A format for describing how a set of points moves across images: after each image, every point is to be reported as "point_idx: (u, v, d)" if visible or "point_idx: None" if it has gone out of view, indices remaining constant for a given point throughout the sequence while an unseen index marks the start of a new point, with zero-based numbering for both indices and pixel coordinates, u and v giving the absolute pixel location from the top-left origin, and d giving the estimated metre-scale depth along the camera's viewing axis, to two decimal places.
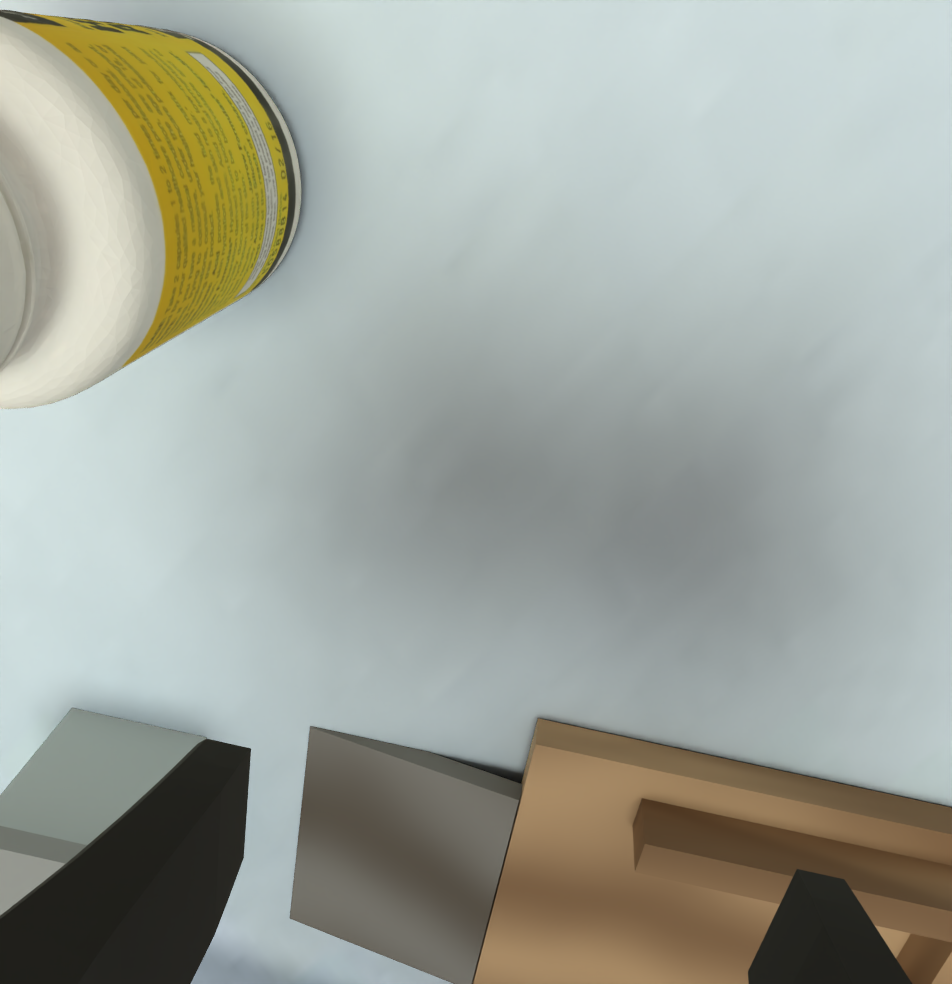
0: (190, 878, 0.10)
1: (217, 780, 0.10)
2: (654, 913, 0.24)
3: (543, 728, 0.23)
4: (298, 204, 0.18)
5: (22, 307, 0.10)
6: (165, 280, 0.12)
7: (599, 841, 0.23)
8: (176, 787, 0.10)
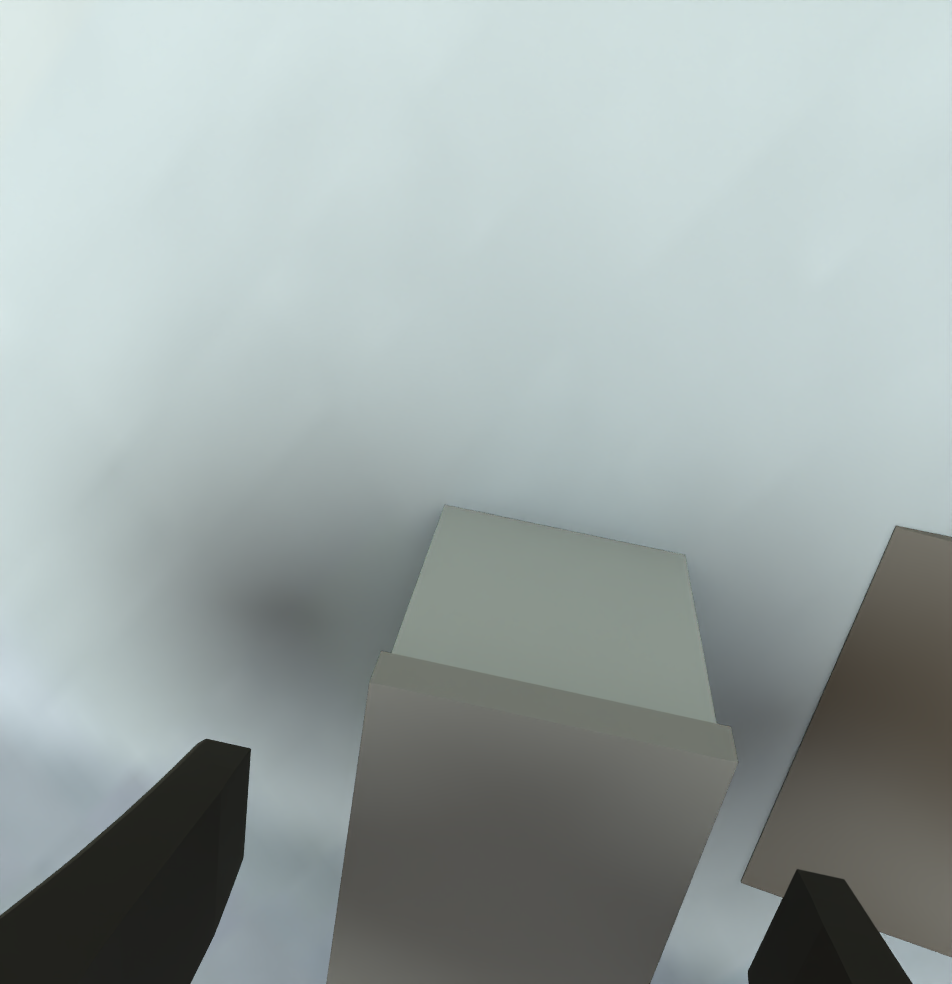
0: (190, 878, 0.10)
1: (217, 780, 0.10)
2: None
3: None
4: None
5: None
6: None
7: None
8: (176, 787, 0.10)
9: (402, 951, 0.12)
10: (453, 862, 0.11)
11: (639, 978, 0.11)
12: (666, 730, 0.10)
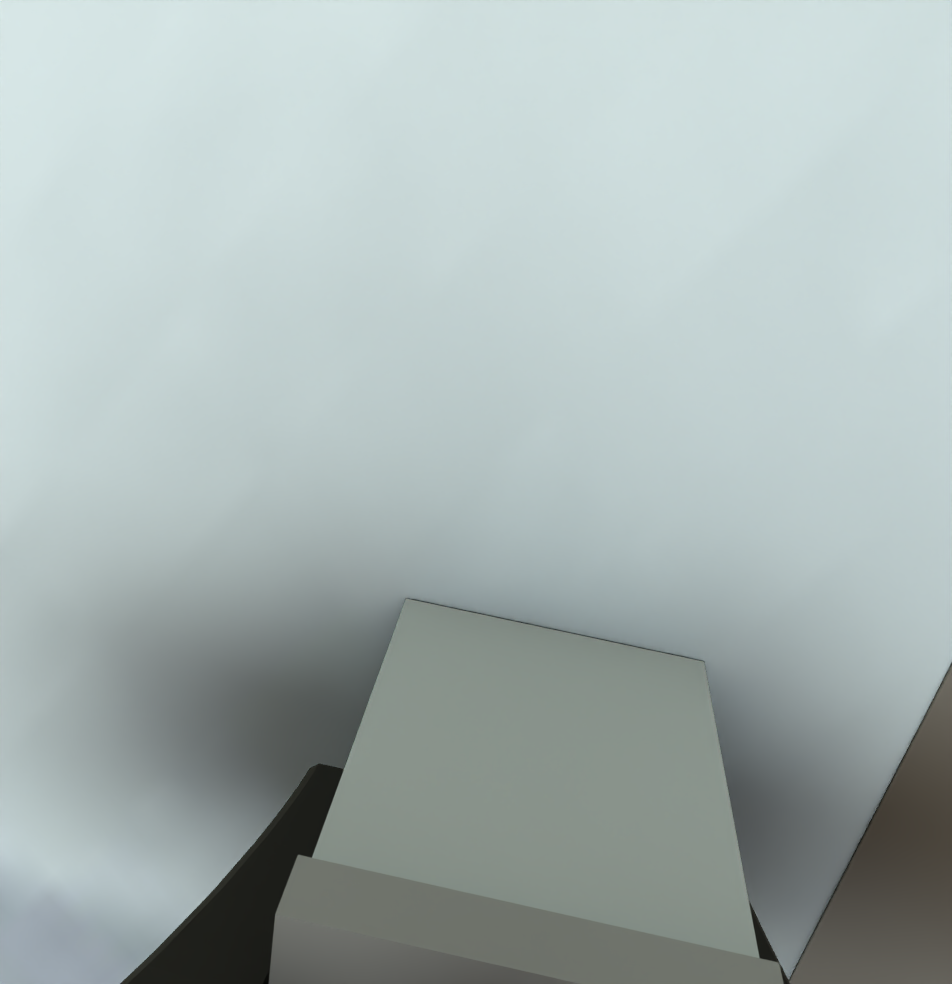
0: None
1: None
2: None
3: None
4: None
5: None
6: None
7: None
8: (302, 815, 0.10)
9: None
10: None
11: None
12: (691, 978, 0.07)
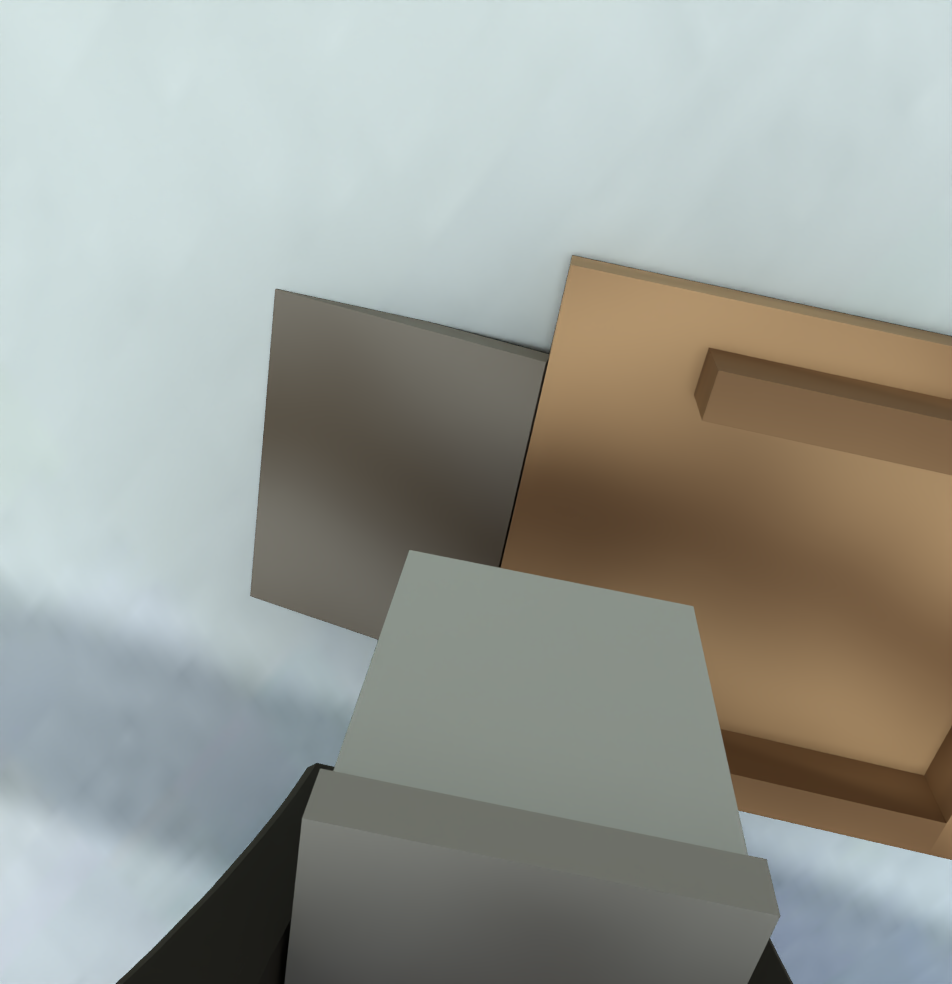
0: None
1: None
2: (715, 536, 0.19)
3: (579, 260, 0.17)
4: None
5: None
6: None
7: (648, 424, 0.18)
8: (299, 814, 0.10)
9: None
10: None
11: None
12: (686, 871, 0.08)
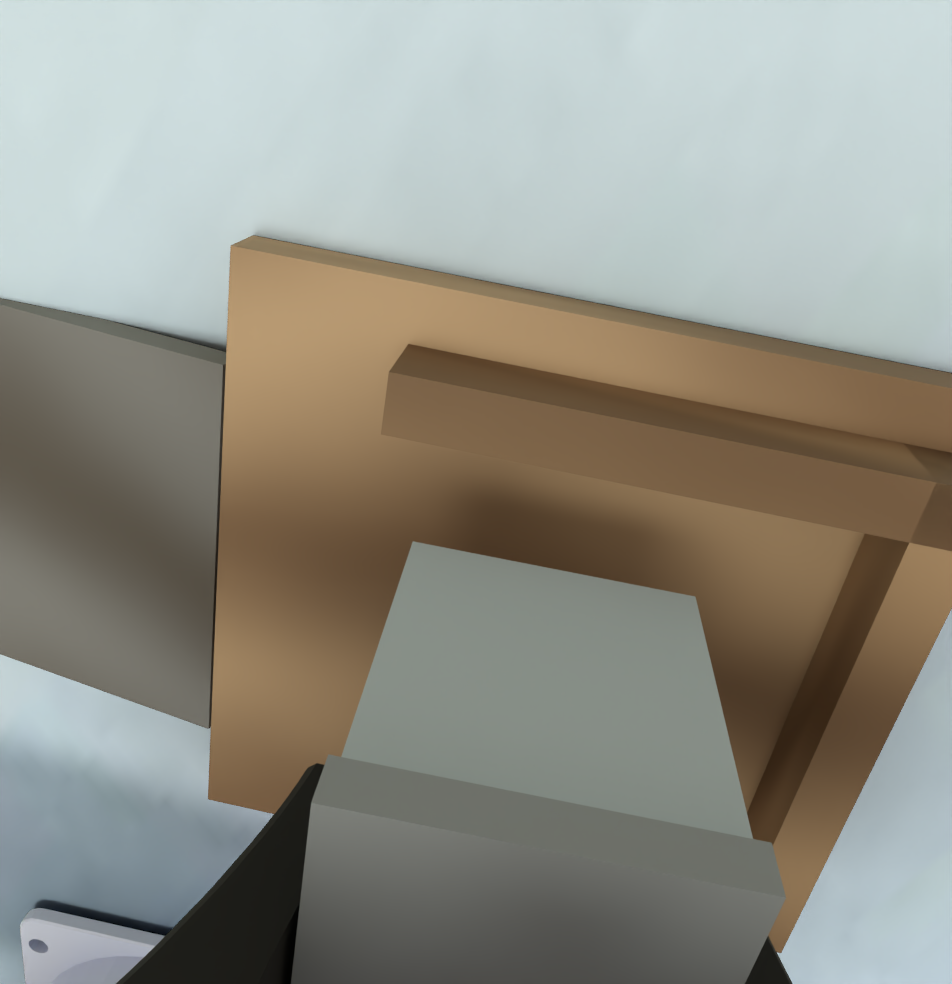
0: None
1: None
2: None
3: (255, 240, 0.14)
4: None
5: None
6: None
7: (354, 438, 0.15)
8: (299, 814, 0.10)
9: None
10: None
11: None
12: (693, 855, 0.08)
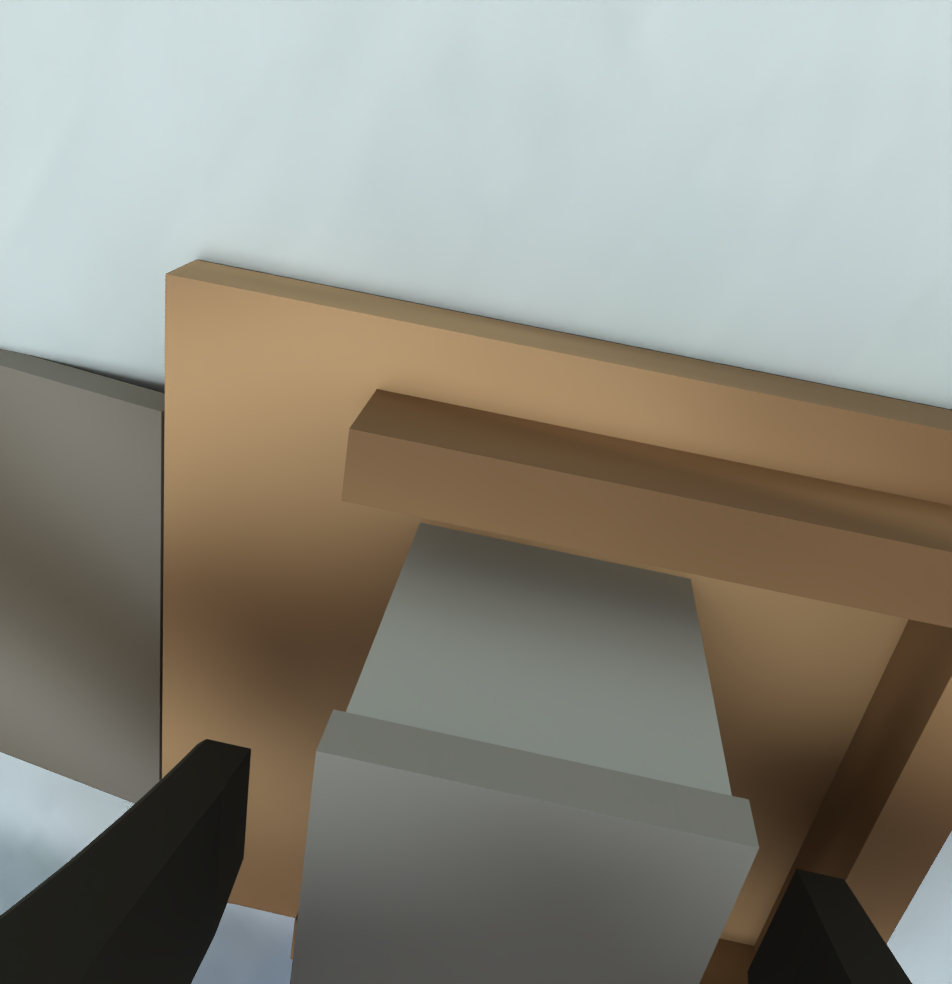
0: (190, 878, 0.10)
1: (217, 780, 0.10)
2: None
3: (198, 267, 0.12)
4: None
5: None
6: None
7: (315, 496, 0.13)
8: (176, 787, 0.10)
9: None
10: (422, 953, 0.09)
11: None
12: (672, 808, 0.08)
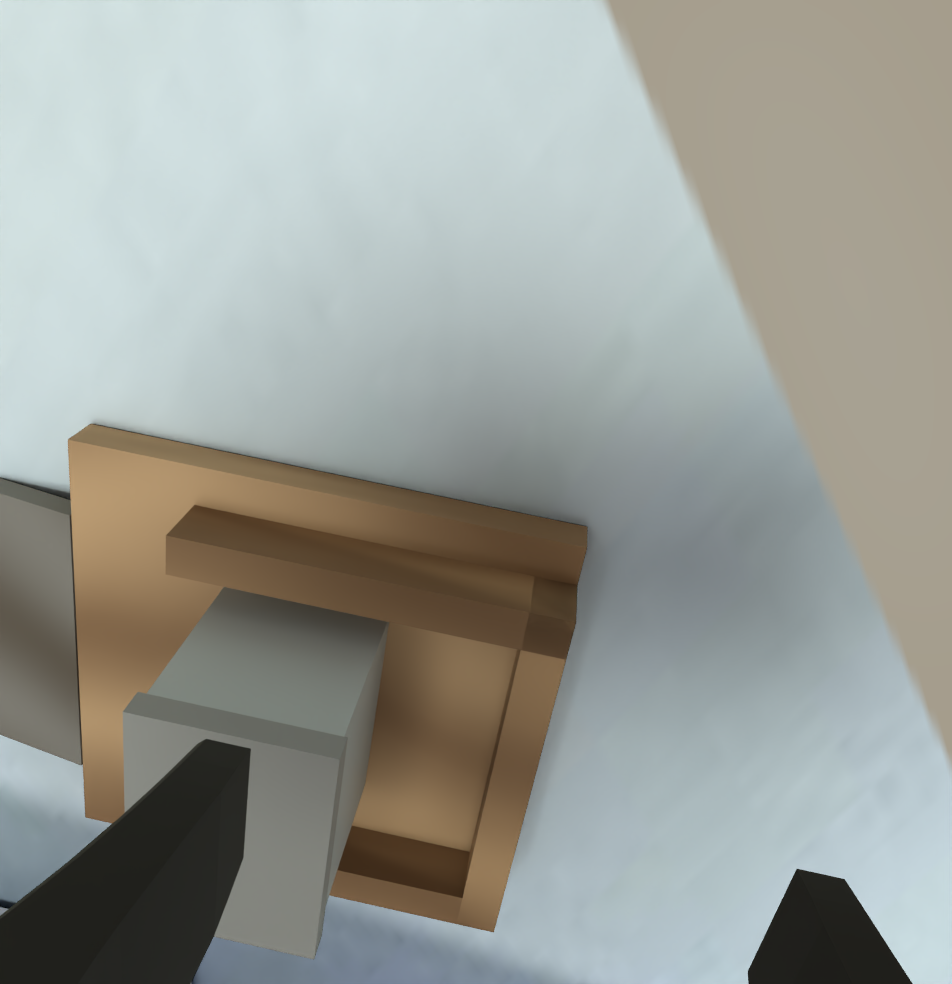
0: (190, 878, 0.10)
1: (217, 780, 0.10)
2: None
3: (89, 430, 0.20)
4: None
5: None
6: None
7: (164, 565, 0.21)
8: (176, 787, 0.10)
9: None
10: None
11: (314, 896, 0.18)
12: (302, 741, 0.17)
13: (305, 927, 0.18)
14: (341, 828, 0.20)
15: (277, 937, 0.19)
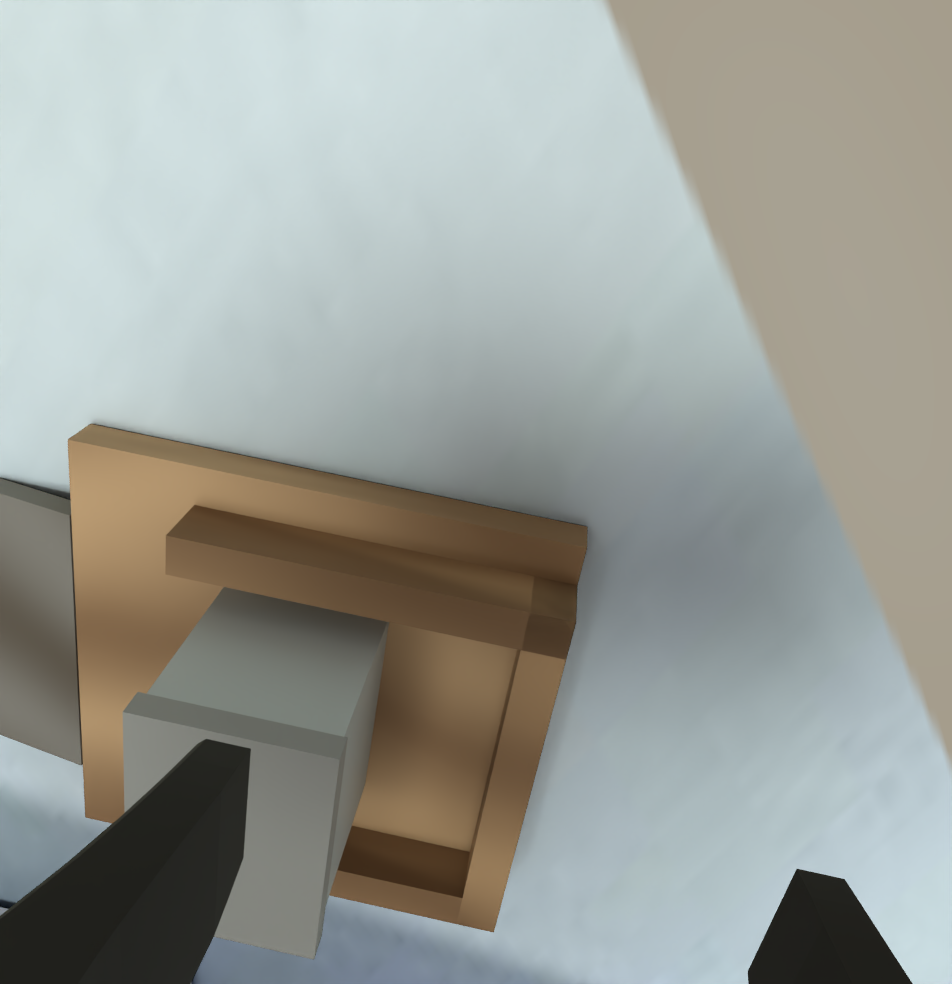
0: (190, 878, 0.10)
1: (217, 780, 0.10)
2: None
3: (89, 430, 0.20)
4: None
5: None
6: None
7: (164, 565, 0.21)
8: (176, 787, 0.10)
9: None
10: None
11: (314, 896, 0.18)
12: (302, 741, 0.17)
13: (305, 927, 0.18)
14: (341, 828, 0.20)
15: (277, 938, 0.19)
